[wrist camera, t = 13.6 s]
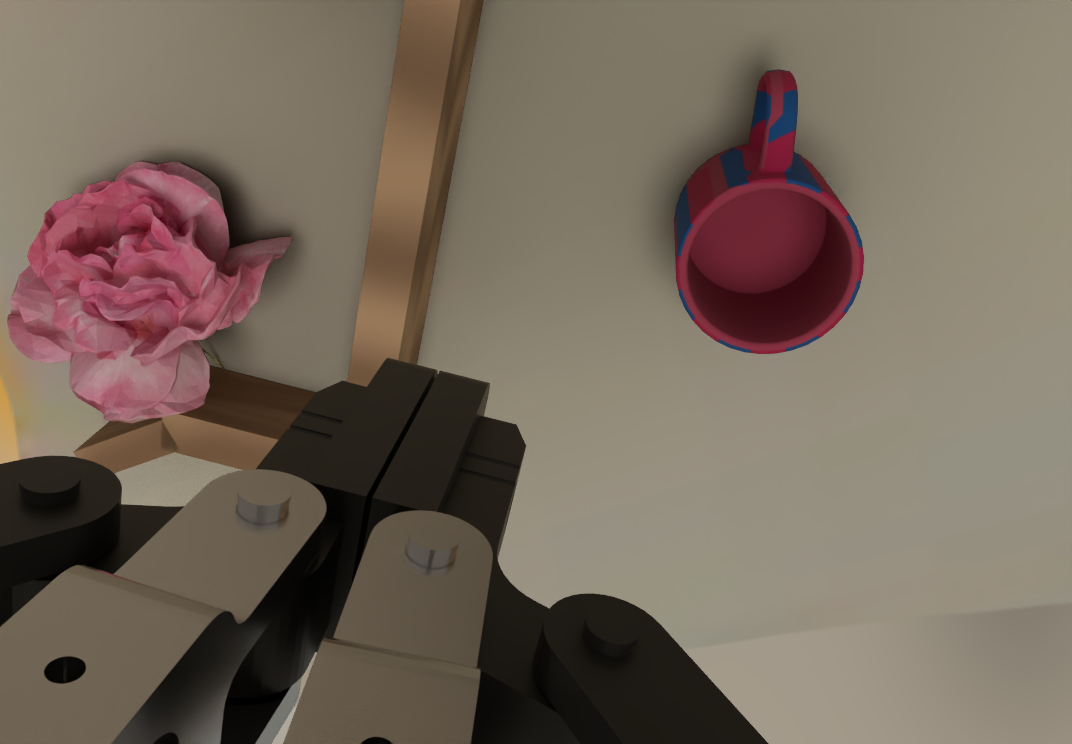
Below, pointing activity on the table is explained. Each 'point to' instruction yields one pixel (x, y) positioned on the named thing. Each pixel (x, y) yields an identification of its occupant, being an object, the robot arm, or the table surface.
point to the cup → (765, 238)
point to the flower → (137, 289)
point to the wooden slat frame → (390, 266)
